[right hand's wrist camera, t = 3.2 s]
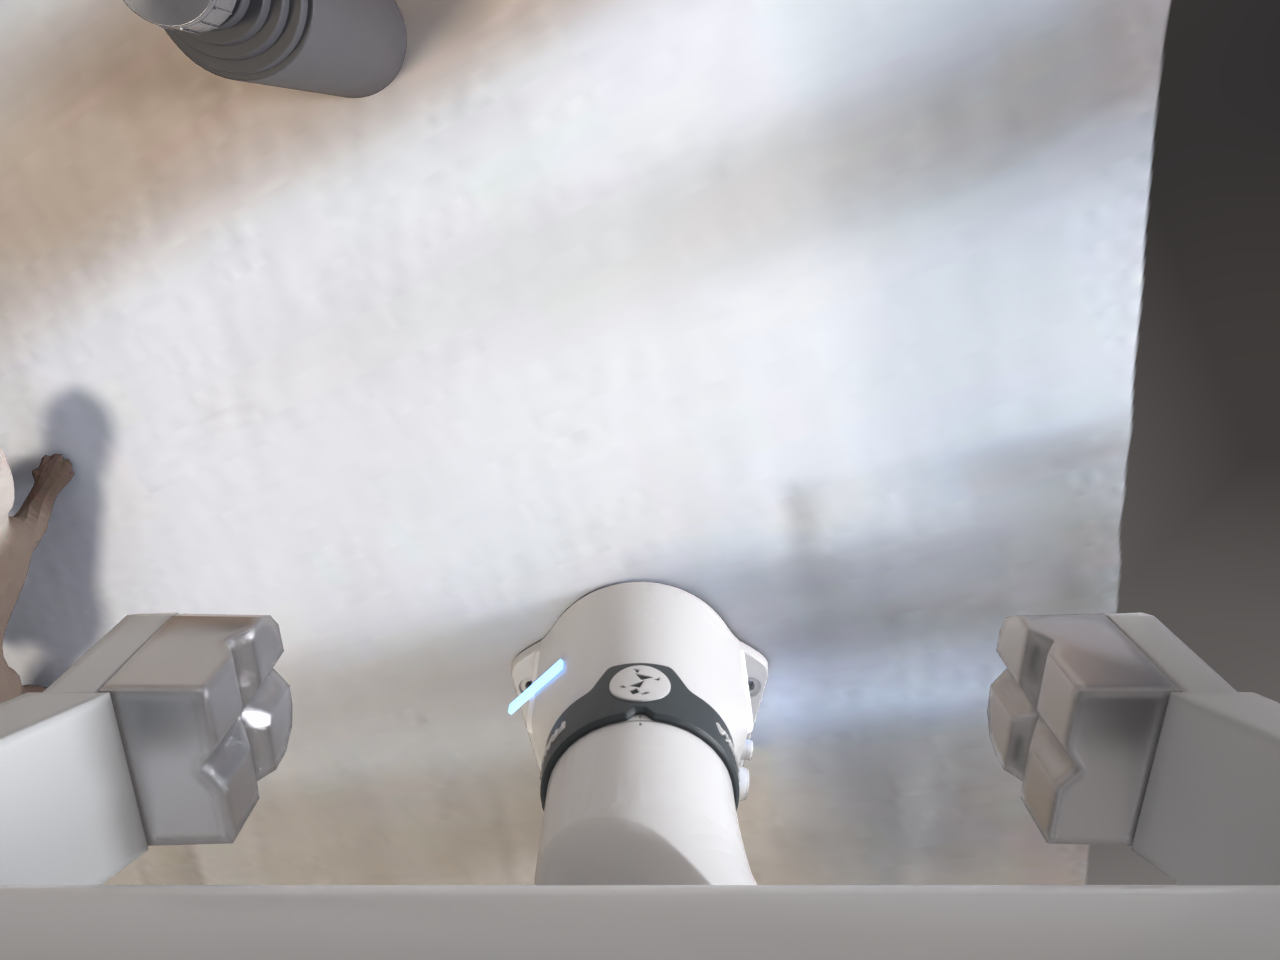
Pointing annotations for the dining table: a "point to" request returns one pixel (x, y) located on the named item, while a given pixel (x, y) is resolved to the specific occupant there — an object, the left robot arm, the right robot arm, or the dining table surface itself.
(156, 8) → the cap
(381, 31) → the bottle
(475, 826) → the dining table surface
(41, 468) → the toy
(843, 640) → the dining table surface
